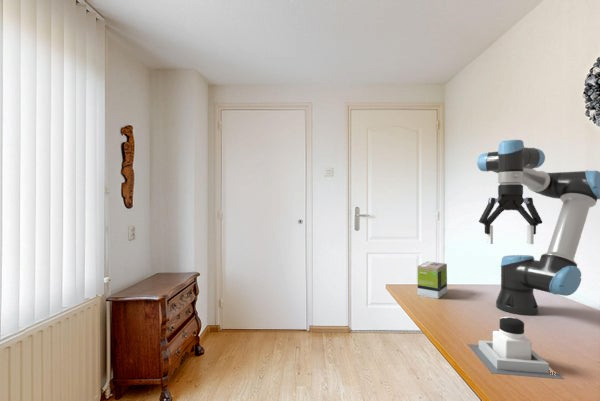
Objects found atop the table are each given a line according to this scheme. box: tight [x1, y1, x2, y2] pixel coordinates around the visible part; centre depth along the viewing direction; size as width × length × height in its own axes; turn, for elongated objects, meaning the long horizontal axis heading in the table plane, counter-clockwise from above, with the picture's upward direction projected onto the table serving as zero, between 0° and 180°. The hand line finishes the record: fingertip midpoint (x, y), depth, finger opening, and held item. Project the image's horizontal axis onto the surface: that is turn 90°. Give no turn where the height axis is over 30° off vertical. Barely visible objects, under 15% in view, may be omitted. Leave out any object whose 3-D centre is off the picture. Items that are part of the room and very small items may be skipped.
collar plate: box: [467, 339, 565, 380], centre depth 97 cm, size 18×18×4 cm
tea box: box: [417, 261, 448, 300], centre depth 164 cm, size 15×10×15 cm
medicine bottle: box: [492, 316, 533, 360], centre depth 97 cm, size 7×7×12 cm
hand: (509, 243), depth 119 cm, fingers open, 13 cm apart
